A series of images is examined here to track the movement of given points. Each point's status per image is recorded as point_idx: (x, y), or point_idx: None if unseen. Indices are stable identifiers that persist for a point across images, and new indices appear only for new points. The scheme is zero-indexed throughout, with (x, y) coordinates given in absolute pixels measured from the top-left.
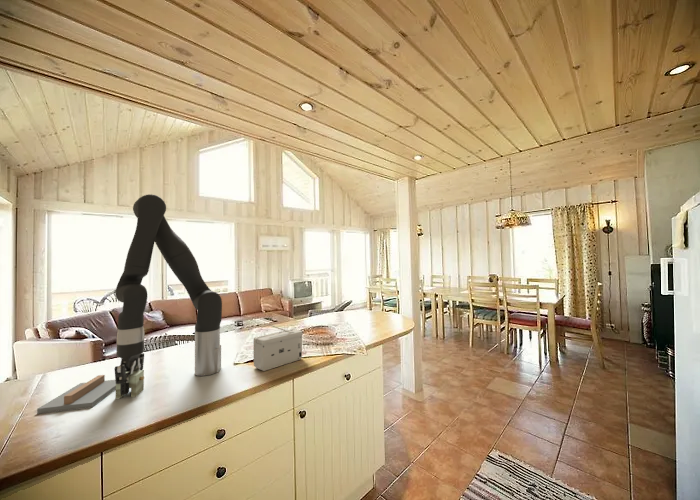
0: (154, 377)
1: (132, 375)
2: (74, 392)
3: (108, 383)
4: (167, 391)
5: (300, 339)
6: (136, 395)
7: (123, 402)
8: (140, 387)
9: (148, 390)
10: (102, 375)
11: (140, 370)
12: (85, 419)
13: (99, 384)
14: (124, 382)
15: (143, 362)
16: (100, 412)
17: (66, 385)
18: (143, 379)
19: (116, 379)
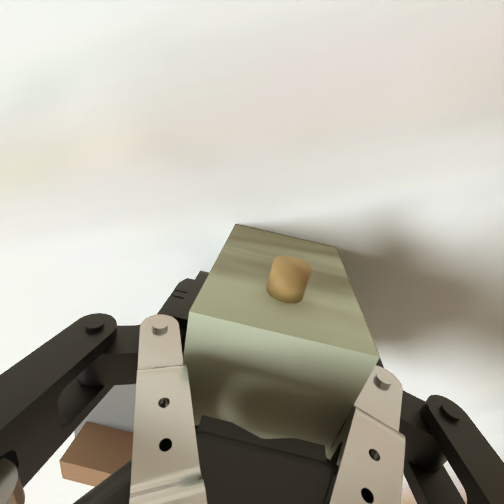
0: (23, 195)
1: (344, 389)
2: None
3: (116, 405)
4: (386, 6)
5: None
6: (333, 248)
7: (390, 296)
8: (278, 248)
9: (265, 188)
10: (67, 466)
11: (193, 340)
12: (494, 403)
13: (124, 433)
14: (462, 410)
15: (8, 370)
16: (455, 368)
17: (62, 487)
18: (290, 257)
19: (459, 501)
